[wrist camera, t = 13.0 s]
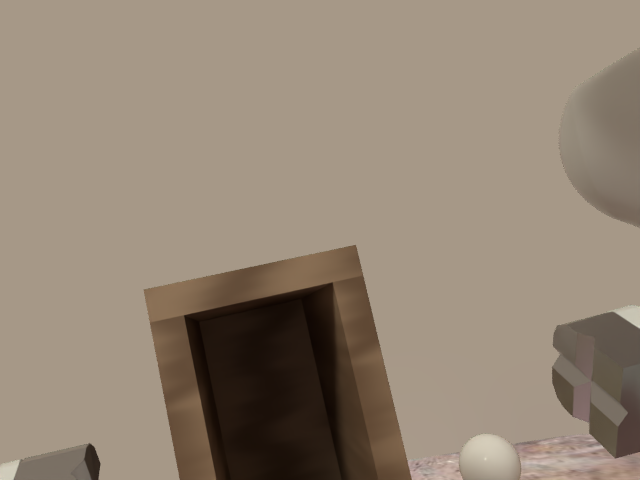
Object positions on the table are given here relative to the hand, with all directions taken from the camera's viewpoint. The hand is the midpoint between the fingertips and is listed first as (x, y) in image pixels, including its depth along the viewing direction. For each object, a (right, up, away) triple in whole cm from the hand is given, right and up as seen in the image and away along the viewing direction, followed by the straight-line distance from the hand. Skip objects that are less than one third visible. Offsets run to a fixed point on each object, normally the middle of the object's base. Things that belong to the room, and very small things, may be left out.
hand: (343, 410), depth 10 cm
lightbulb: (+19, -29, +52) cm, 62 cm away
